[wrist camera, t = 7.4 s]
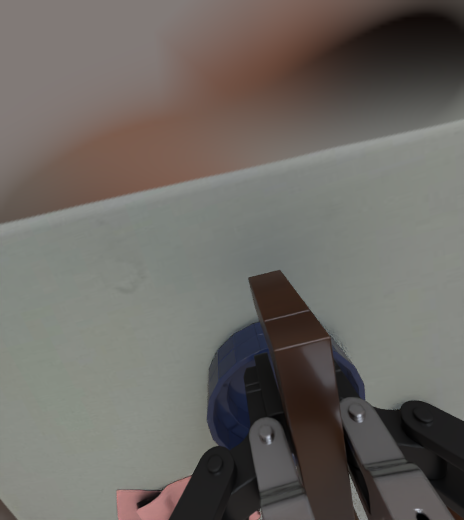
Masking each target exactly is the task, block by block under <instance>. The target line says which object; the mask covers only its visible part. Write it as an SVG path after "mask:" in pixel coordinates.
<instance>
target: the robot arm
mask: <svg viewBox="0 0 464 520" xmlns="http://www.w3.org/2000/svg"><path fill="white" fill-rule="evenodd" d="M254 359H255V364H256V366H253V367H249V368H246V370H245V373H244V376H243V377H244V384H245V391H246V398H247V405H248V411H249V418H250V429H249V432H248V435H247V436H246V438H245V439H244V440H243V441H242V442H241V443H240V444H238V445H237V446H235V447H234V448H232V449H231V450H229V449H227V448H226V447H223V446H216V447H213V448H211V449H209V450H208V451H207V452H205V453H204V455H203V456H202V457H201V459H200V461H199V463H198V465H197V467H196V469H195V470H194V472H193V474H192V476H191V478H190V480H189V482H188V484H187V486H186V487H185V489H184V491H183V493H182V495H181V497H180V499H179V501H178V503H177V505H176V506H175V508H174V510H173V512H172V514H171V516H170V518H169V520H249V517H250V516H251V515H252V514H253V513H255V512H256V511H257V510H259V509H260V508H261V513H262V519H263V520H315V518H314V515H313V512H312V509H311V506H310V503H309V500H308V497H307V494H306V491H305V489H304V486H303V485H302V483H301V481H300V478H299V475H298V472H297V469H296V466H295V463H294V460H293V457H292V454H293V450H292V445H291V441H290V436H289V432H288V428H287V423H286V419H285V414H284V410H283V406H282V402H281V397H280V393H279V390H278V387H277V384H276V380H275V377H274V374H273V371H272V367H271V364H270V361H269V358H268V354H267V352H266V353H261V354H257V355H254ZM334 366H335V373H336V381H337V388H338V396H339V403H340V411H341V418H342V426H343V433H344V441H345V448H346V456H347V463H348V471H349V474H350V476H351V479H352V481H353V483H354V486H355V488H356V491H357V493H358V495H359V498H360V500H361V503H362V505H363V508H364V510H365V512H366V515H367V517H368V520H455V519H454V518H453V516H452V515H451V513H450V512H449V510H448V509H447V507H449V508H450V509H451V510H453V511H454V512H455V513H457V514H458V515H459V516H461V517H462V518H463V519H464V421H462V420H460V419H458V418H456V417H454V416H452V415H450V414H448V413H446V412H444V411H442V410H440V409H438V408H436V407H434V406H432V405H430V404H428V403H425V402H422V401H408V402H406V403H404V404H403V405H402V406H401V409H400V411H399V410H385V409H379V408H376V407H373V406H372V405H371V404H369V403H368V402H367V401H365V400H363V399H361V398H360V397H359V395H358V394H357V392H356V391H355V389H354V388H353V386H352V385H351V383H350V382H349V380H348V379H347V377H346V376H345V375H344V373H343V372H342V371H341V369H340V367H339V366H338V365H337V363H336V361H335V360H334ZM445 505H446V506H447V507H446V506H445Z"/></svg>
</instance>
